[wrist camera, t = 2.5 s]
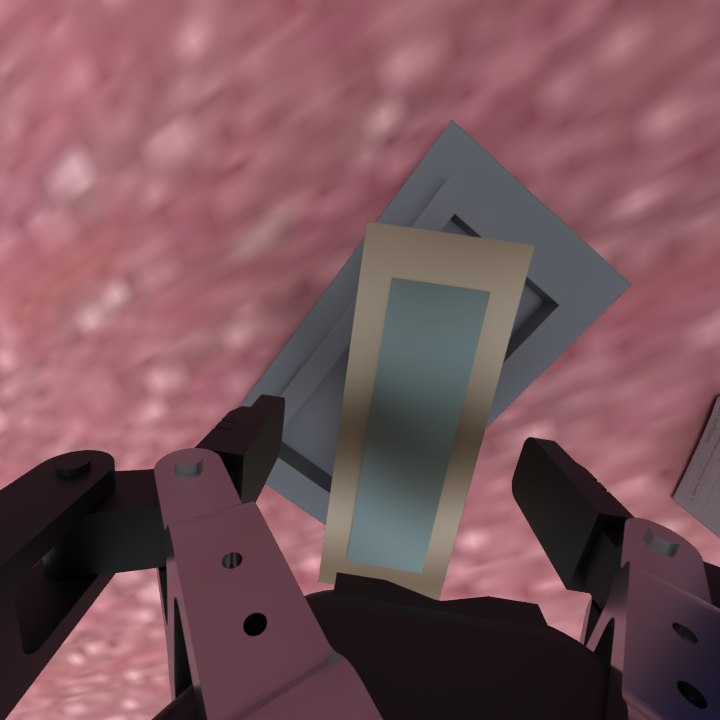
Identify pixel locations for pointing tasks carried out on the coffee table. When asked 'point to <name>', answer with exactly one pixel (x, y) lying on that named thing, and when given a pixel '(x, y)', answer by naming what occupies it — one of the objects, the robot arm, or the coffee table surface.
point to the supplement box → (704, 477)
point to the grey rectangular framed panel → (449, 215)
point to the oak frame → (417, 399)
